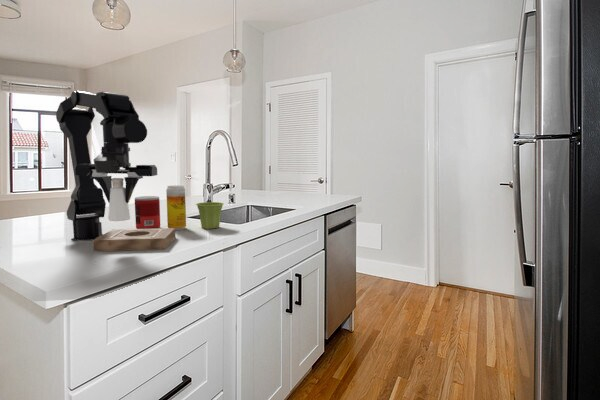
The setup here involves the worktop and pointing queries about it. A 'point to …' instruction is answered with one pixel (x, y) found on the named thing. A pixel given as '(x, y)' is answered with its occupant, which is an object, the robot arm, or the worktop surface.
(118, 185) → the salt shaker
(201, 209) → the plant pot
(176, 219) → the yellow canister
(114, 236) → the board
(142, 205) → the canned food
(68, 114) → the robot arm
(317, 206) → the worktop surface
